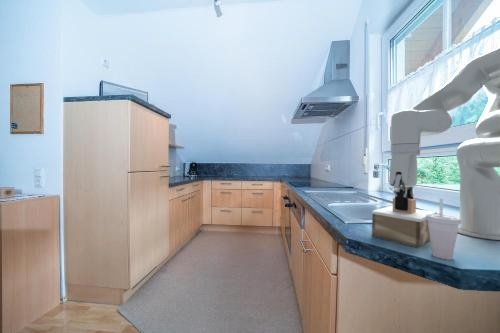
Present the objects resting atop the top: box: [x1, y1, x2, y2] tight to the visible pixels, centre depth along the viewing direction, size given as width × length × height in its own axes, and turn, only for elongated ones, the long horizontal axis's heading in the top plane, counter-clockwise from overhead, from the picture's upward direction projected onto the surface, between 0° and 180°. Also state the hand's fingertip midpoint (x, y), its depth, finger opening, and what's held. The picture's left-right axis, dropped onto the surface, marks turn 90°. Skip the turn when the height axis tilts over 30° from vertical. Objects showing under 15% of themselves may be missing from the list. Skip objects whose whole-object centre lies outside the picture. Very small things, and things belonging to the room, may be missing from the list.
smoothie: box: [426, 198, 461, 261], centre depth 52 cm, size 6×6×14 cm
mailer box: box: [371, 214, 431, 249], centre depth 67 cm, size 16×12×7 cm
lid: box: [371, 197, 438, 222], centre depth 67 cm, size 16×12×5 cm
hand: (404, 208), depth 67 cm, fingers closed on lid, 4 cm apart
